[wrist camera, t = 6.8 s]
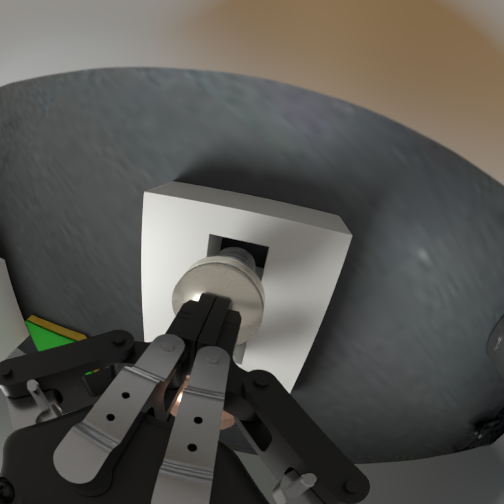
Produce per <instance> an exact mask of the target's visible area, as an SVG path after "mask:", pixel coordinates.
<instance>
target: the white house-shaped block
mask: <svg viewBox="0 0 504 504" xmlns="http://www.w3.org/2000/svg"><path fill="white" fill-rule="evenodd" d="M29 335H30V334H29V332H28V329H27V327H26V324H25V322H24V319H23V317H22V314H21V311H20V309H19V306H18V303H17V300H16V297H15V294H14V291H13V288H12V285H11V281H10V278H9V274H8V271H7V267H6V263H5V259H2V258H0V362H1V361H3V360H5V359H6V358H7V357H8V356H9V355H10V354H11V353H12V352H13V351H14V350H15V349H16V348H17V347H18V346H19V345H20V344H21V343H22V342H23V341H24V340H25V339H26V338H27V337H28V336H29Z"/></svg>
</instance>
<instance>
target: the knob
mask: <svg viewBox="0 0 504 504" xmlns="http://www.w3.org/2000/svg"><path fill="white" fill-rule="evenodd" d="M202 293H206V294H210V295H214V296H219V297H223V298H227V299H231V300H232V301H231V307H230V310H235V311H239V312H240V315H241V318H242V320H241V325H240V330H239V334H238V339H237V343H236V345H238V344H241V343H243V342H245V341H247V340H249V339H250V338H252V337H253V336H254V335H255V334H256V332H257V331H258V330H259V328H260V326H261V323H262V318H263V312H264V306H265V291H264V287H263V285H262V283H261V281H260V279H259V277H258V276H257V275H256V274H255V261H254V259H253V257H252V255H251V254H250V253H249V252H248V251H246V250H245V249H243V248H240V247H227V248H225V249H223V250H222V251H220V252H219V254H218V255H217V256H212V257H206V258H203V259H201V260H199V261H197V262H195V263H194V264H192V265H191V266H190V267H189V268H188V270H187V271H186V272H185V273H184V275H183V276H182V277H181V279H180V280H179V281H178V283H177V284H176V286H175V288H174V290H173V294H172V307H173V311H174V314H175V316H176V315H177V313H178V312H179V310H180V308H181V307H182V305H183V304H184V303H186V302H187V301H189V300H194V301H198V300H199V298H200V296H201V294H202Z"/></svg>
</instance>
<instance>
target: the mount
mask: <svg viewBox="0 0 504 504" xmlns="http://www.w3.org/2000/svg"><path fill="white" fill-rule="evenodd" d="M222 237H227V238H231V239H236V240H241V241H245V242H250V243H254V244H259V245H263V246H268V247H269V248H268V252H267V257H266V261H265V266H264V268H261V267H256V266H255V274H256V275H257V276H258V277H259V279H260V281H261V283H262V285H263V287H264V291H265V306H264V312H263V318H262V323H261V326H260V328H259V330H258V331H257V332H256V334H255V335H254V336H253V337H252V338H250V339H249V340H247V341H245V342H243V343H241V344H238V345H236V347H235V351H234V354H235V363H236V364H237V365H238V366H239V367H240V368H242V369H243V370H245V371H247V372H249V371H252V370H257V369H260V370H265V371H268V372H270V373H272V374H273V375H274V376H275V377H276V378H277V379H278V381H279V382H280V383H281V384H282V385H283V387H284V388H285V389H286V390H287V391H288V392H289V394H290V392H291V390H292V388H293V386H294V384H295V382H296V379H297V377H298V375H299V373H300V371H301V369H302V367H303V364H304V362H305V360H306V358H307V355H308V353H309V351H310V349H311V346H312V344H313V342H314V339H315V337H316V335H317V332H318V330H319V327H320V325H321V322H322V320H323V317H324V315H325V312H326V310H327V307H328V305H329V302H330V299H331V297H332V294H333V291H334V289H335V286H336V283H337V280H338V277H339V275H340V272H341V269H342V266H343V263H344V260H345V257H346V254H347V251H348V248H349V245H350V242H351V239H352V234H351V232H350V231H349V229H348V228H347V227H346V225H345V224H344V222H343V221H342V219H341V218H340V216H339V215H335V214H331V213H327V212H323V211H319V210H315V209H310V208H306V207H302V206H298V205H293V204H289V203H285V202H280V201H276V200H271V199H266V198H262V197H257V196H252V195H247V194H242V193H237V192H232V191H227V190H221V189H216V188H210V187H205V186H199V185H193V184H187V183H181V182H175V181H172V182H169V183H166V184H163V185H161V186H158V187H155V188H153V189H150V190H147V191H145V192H144V201H143V218H142V251H141V275H142V307H143V325H144V338H145V342H152V341H153V340H154V339H155V338H156V337H157V336H159V335H162V334H165V333H166V331H167V330H168V328H169V326H170V325H171V323H172V321H173V320H174V318H175V317H176V316H175V314H174V311H173V307H172V294H173V290H174V288H175V286H176V284H177V283H178V281H179V280H180V279H181V277H182V276H183V275H184V273H185V272H186V271H187V270H188V268H189V267H190V266H191V265H192V264H194V263H195V262H197V261H199V260H201V259H203V258H206V257H212V256H217V255H218V254H219V252H220V249H221V242H222Z"/></svg>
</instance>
